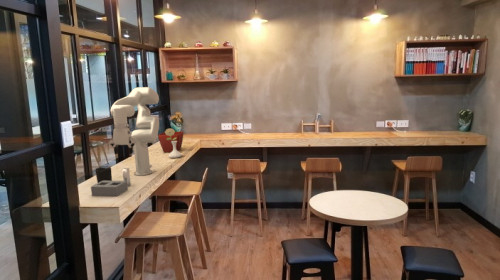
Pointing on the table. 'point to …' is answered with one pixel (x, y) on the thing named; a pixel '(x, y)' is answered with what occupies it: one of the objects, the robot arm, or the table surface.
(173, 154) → the flower in vase
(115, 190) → the hole block
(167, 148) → the plant pot
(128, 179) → the steel pin
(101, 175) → the pen holder
